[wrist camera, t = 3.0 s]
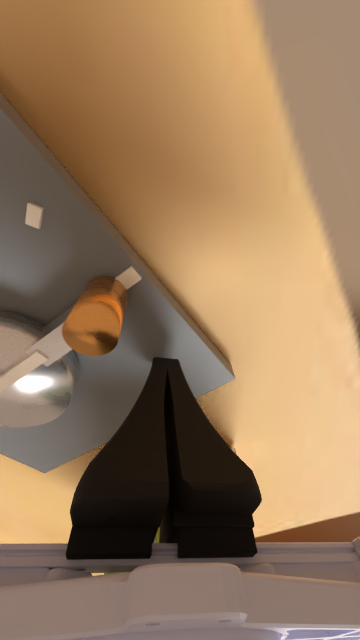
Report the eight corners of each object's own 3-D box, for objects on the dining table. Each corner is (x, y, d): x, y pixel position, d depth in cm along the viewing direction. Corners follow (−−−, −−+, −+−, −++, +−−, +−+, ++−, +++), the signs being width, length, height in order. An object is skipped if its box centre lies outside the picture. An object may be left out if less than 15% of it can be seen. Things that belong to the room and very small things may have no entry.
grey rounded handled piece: (27, 419, 16) (3, 467, 14) (-90, 355, 13) (-150, 404, 11) (169, 333, 13) (170, 376, 11) (60, 218, 10) (24, 242, 7)
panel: (50, 458, 22) (43, 476, 21) (-232, 323, 13) (-271, 340, 12) (230, 365, 17) (236, 381, 16) (-43, 41, 8) (-79, 22, 7)
